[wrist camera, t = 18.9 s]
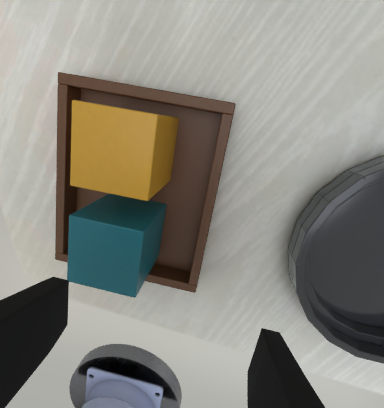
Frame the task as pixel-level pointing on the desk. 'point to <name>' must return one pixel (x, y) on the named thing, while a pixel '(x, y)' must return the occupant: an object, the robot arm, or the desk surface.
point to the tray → (180, 177)
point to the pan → (344, 261)
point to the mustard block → (121, 150)
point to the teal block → (115, 243)
